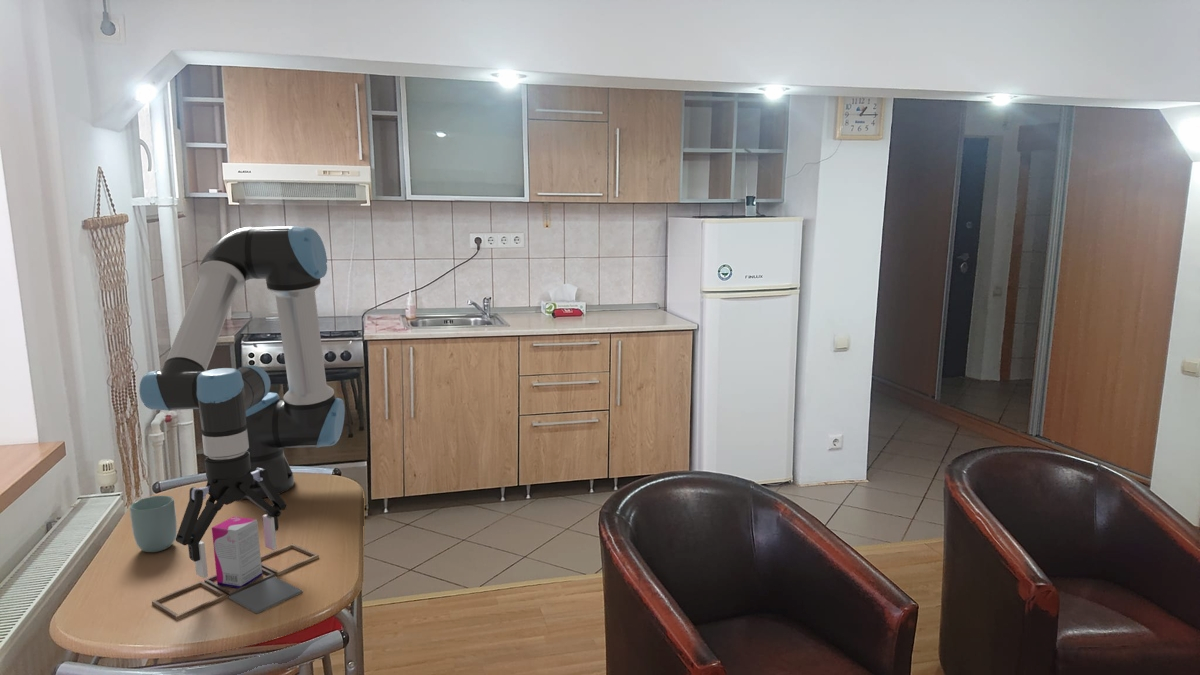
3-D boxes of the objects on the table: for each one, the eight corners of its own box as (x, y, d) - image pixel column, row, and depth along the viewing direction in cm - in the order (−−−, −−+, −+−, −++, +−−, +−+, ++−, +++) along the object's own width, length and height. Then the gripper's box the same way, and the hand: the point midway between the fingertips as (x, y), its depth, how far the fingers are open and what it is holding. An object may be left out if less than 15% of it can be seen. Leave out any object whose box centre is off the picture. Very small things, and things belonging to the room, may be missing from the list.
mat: (274, 578, 149) (274, 576, 149) (302, 592, 144) (302, 590, 144) (229, 598, 142) (228, 596, 142) (256, 613, 137) (256, 611, 137)
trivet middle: (249, 564, 155) (249, 561, 155) (275, 576, 150) (275, 573, 150) (204, 582, 148) (204, 579, 148) (230, 596, 143) (229, 593, 142)
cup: (160, 558, 158) (154, 511, 156) (126, 555, 159) (120, 508, 157) (187, 541, 165) (182, 496, 163) (155, 538, 167) (149, 494, 165)
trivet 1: (201, 583, 147) (201, 580, 147) (227, 597, 142) (227, 594, 142) (152, 604, 140) (151, 601, 140) (177, 619, 135) (176, 616, 135)
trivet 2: (292, 546, 162) (292, 543, 162) (318, 557, 157) (318, 554, 157) (251, 563, 155) (251, 560, 155) (277, 575, 150) (277, 572, 150)
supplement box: (263, 574, 151) (258, 518, 148) (241, 589, 145) (235, 531, 143) (239, 570, 152) (233, 515, 150) (216, 585, 147) (209, 527, 145)
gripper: (277, 432, 156) (286, 533, 160) (146, 468, 136) (159, 582, 140) (299, 439, 152) (308, 542, 156) (167, 477, 132) (180, 594, 136)
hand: (237, 561), depth 148 cm, fingers open, 13 cm apart
